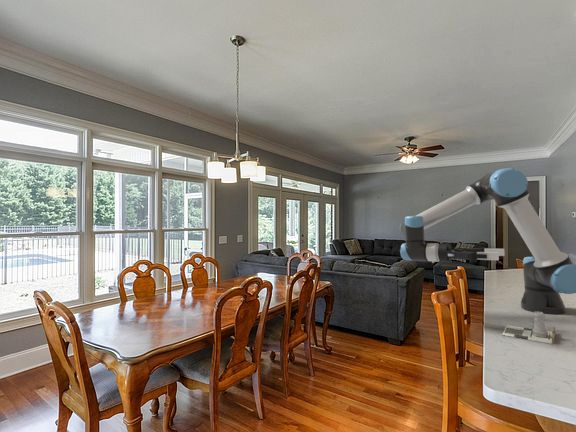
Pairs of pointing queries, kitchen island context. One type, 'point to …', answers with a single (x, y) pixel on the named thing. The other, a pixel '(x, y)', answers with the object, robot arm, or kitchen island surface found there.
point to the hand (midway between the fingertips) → (501, 254)
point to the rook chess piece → (539, 325)
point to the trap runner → (527, 335)
